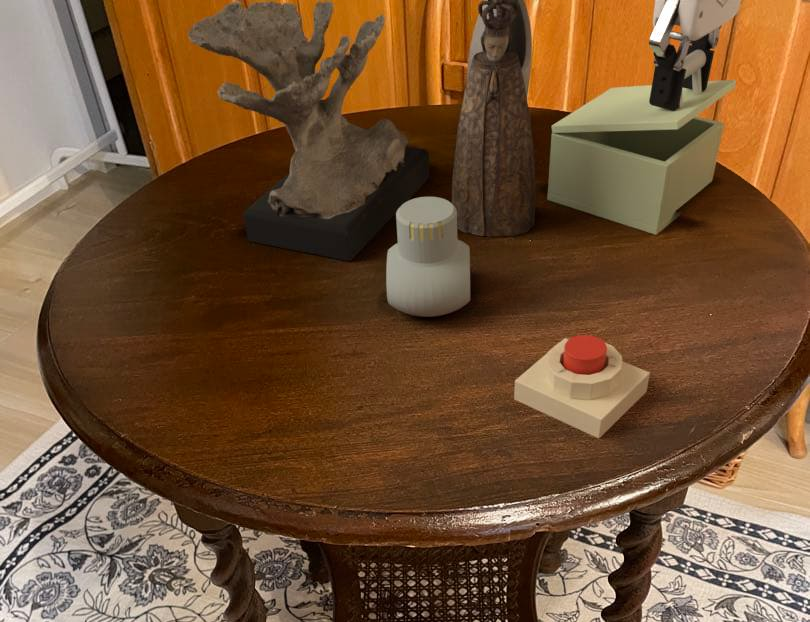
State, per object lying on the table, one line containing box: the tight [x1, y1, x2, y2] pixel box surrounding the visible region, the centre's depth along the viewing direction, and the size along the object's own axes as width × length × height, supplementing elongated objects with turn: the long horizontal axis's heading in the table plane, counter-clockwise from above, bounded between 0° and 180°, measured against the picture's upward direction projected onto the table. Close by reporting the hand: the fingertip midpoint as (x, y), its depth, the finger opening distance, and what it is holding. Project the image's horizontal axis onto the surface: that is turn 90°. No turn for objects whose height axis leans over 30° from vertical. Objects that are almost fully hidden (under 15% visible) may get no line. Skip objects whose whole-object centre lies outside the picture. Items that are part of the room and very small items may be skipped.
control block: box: [513, 337, 651, 439], centre depth 77 cm, size 9×8×4 cm
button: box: [563, 334, 607, 375], centre depth 75 cm, size 4×4×2 cm
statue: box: [451, 0, 536, 238], centre depth 90 cm, size 9×8×25 cm
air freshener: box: [385, 196, 471, 318], centre depth 86 cm, size 11×8×10 cm
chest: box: [546, 115, 725, 236], centre depth 100 cm, size 15×13×8 cm
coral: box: [188, 0, 430, 262], centre depth 97 cm, size 25×20×21 cm
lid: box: [551, 50, 737, 134], centre depth 94 cm, size 15×13×5 cm
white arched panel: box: [465, 0, 533, 96], centre depth 105 cm, size 18×7×19 cm, turn 164°
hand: (677, 95), depth 91 cm, fingers closed on lid, 5 cm apart
